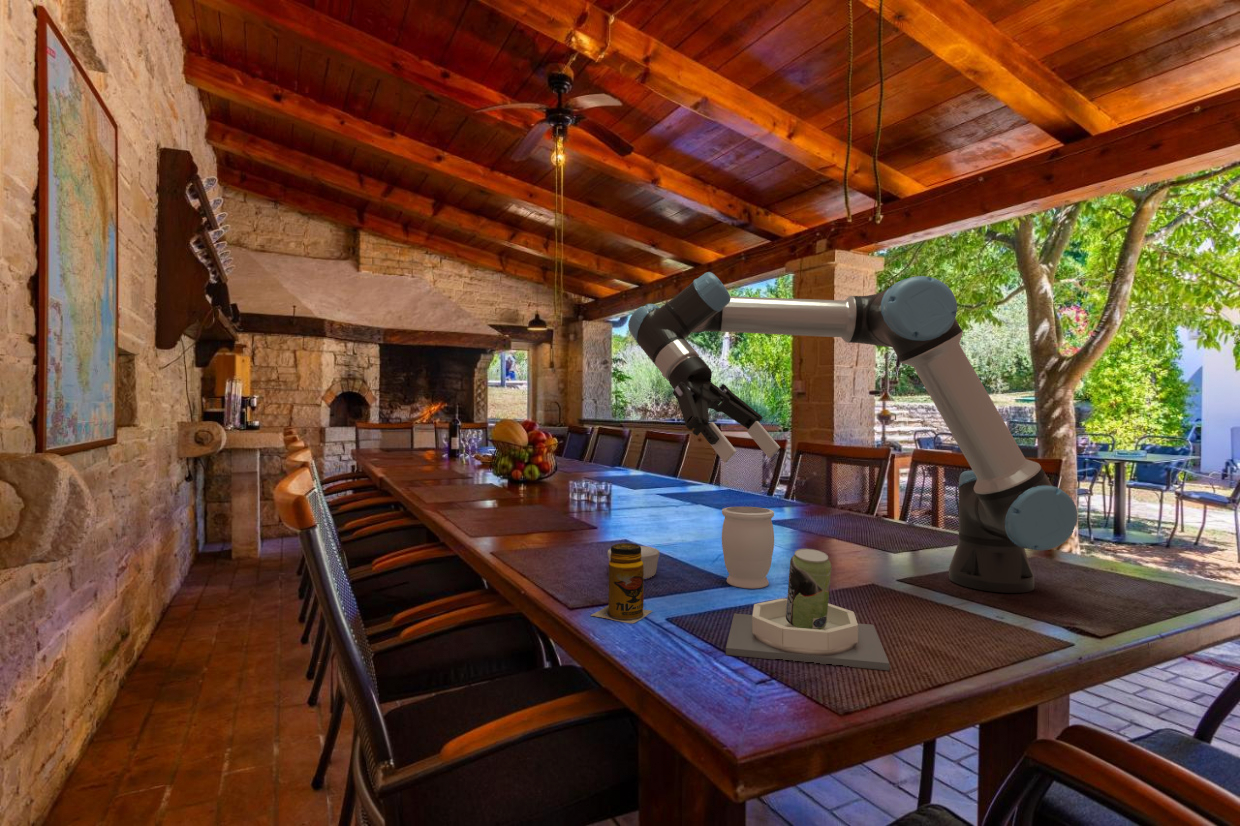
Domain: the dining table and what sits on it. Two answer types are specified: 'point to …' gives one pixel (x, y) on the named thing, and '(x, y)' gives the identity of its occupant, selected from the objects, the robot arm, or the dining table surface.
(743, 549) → the jar
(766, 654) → the slate board
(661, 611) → the dining table surface
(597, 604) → the dining table surface
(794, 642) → the dish
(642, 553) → the ramekin
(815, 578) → the beverage can
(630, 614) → the condiment
